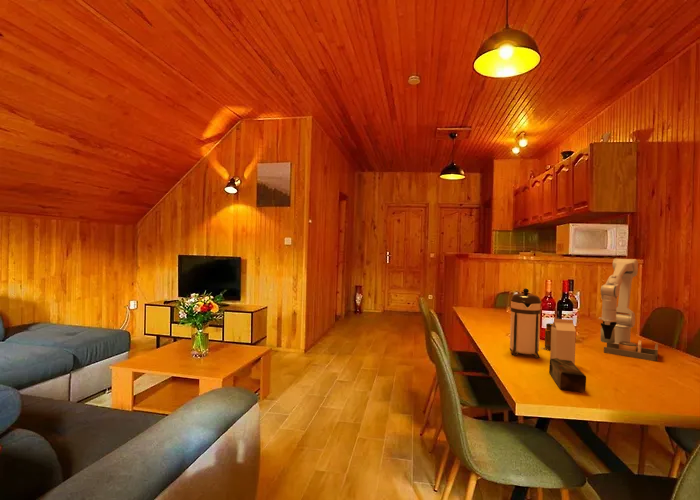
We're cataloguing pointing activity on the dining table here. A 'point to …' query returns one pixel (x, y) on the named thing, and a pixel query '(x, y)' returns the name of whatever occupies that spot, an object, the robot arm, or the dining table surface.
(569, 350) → the milk carton
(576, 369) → the dark brown block
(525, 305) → the coffee press
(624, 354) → the pusher lane
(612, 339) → the slate jar
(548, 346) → the condiment
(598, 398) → the dining table surface
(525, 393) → the dining table surface
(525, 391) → the dining table surface
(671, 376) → the dining table surface
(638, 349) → the pusher plate
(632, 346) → the amber jar
